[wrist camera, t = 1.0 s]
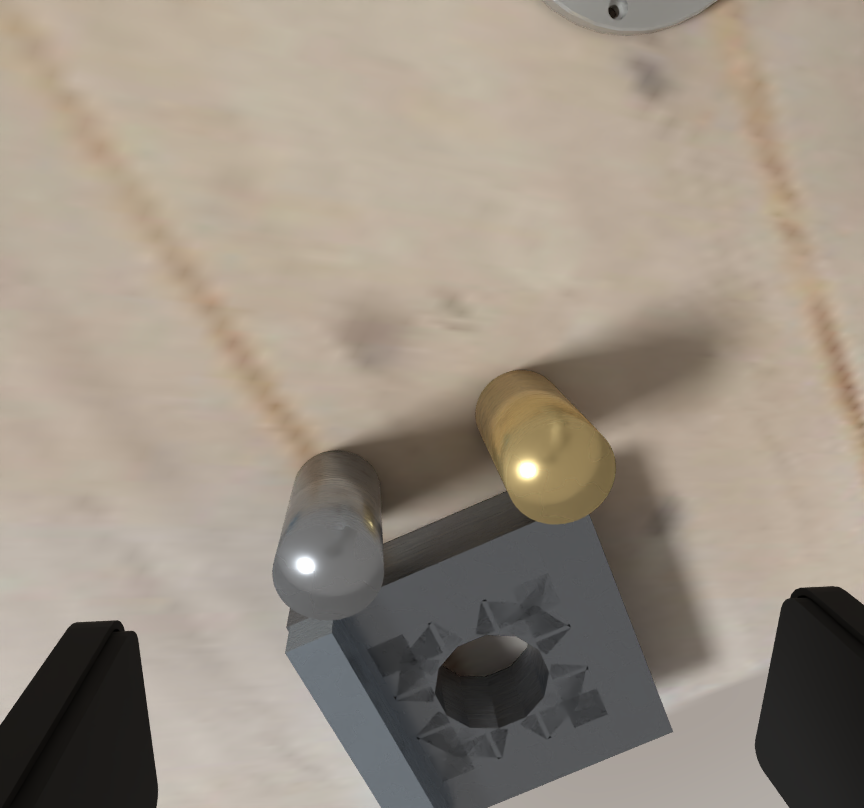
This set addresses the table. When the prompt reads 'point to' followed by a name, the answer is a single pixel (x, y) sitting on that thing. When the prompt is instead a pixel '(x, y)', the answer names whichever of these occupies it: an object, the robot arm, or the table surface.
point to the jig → (482, 696)
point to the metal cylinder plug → (331, 538)
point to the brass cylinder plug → (544, 448)
